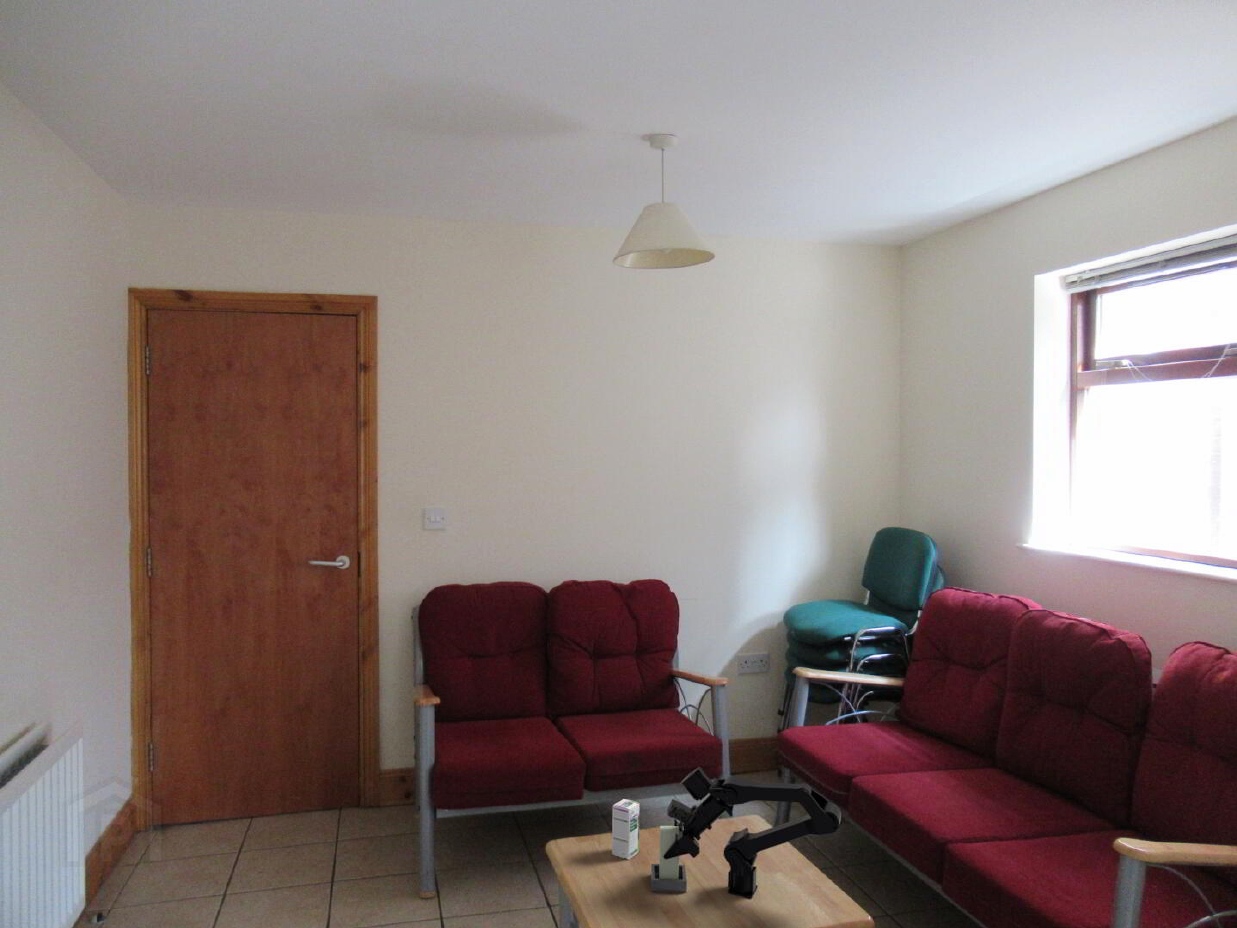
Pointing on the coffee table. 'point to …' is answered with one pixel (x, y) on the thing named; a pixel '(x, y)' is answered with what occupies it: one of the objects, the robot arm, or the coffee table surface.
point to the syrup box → (625, 829)
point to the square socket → (668, 881)
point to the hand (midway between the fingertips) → (664, 853)
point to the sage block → (667, 838)
